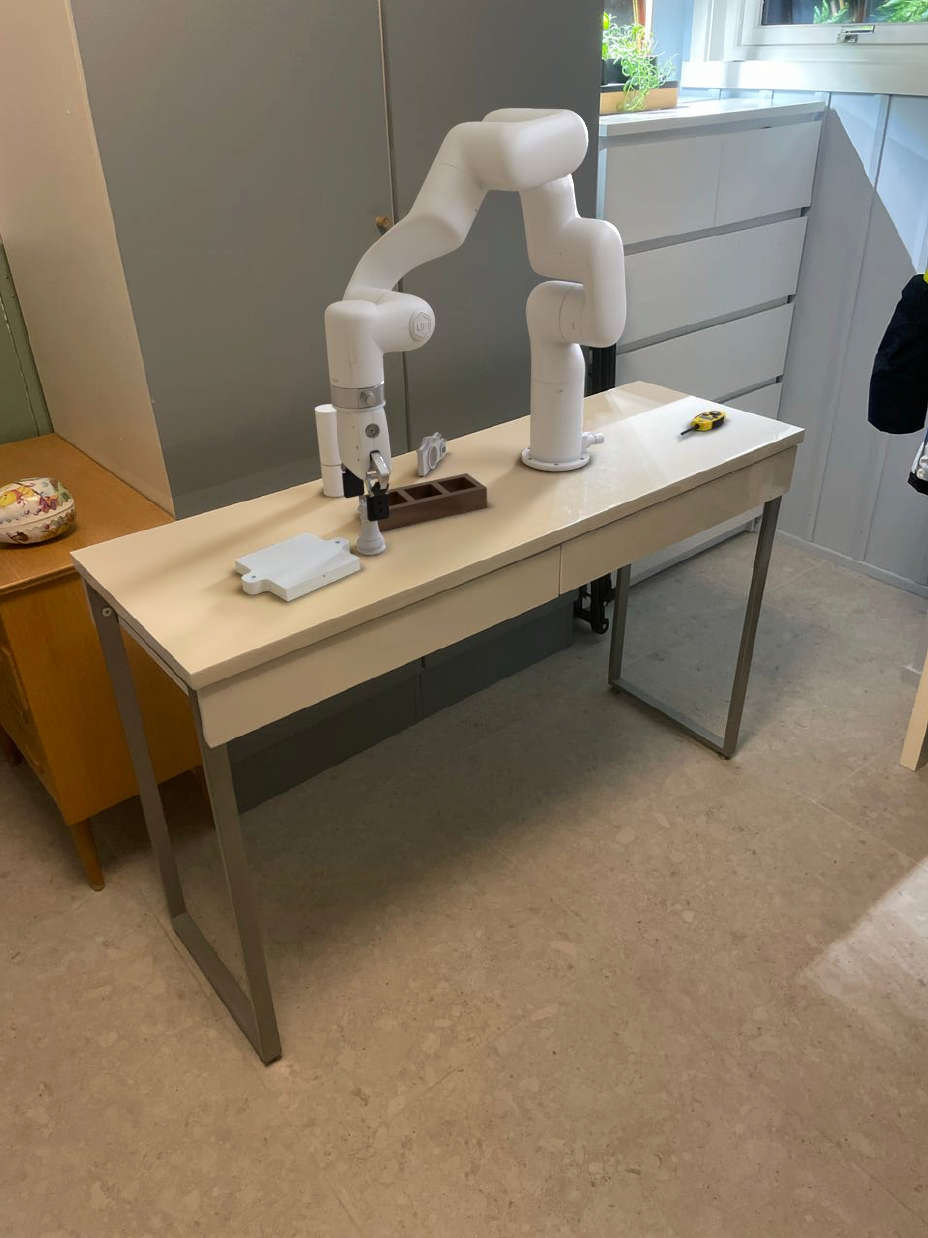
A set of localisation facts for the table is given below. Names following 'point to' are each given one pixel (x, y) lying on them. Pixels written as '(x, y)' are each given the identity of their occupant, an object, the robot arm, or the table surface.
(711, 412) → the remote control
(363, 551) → the rook chess piece
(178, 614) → the table surface
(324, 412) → the tube
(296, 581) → the mounting plate
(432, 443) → the white ornate piece
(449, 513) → the piece stand
